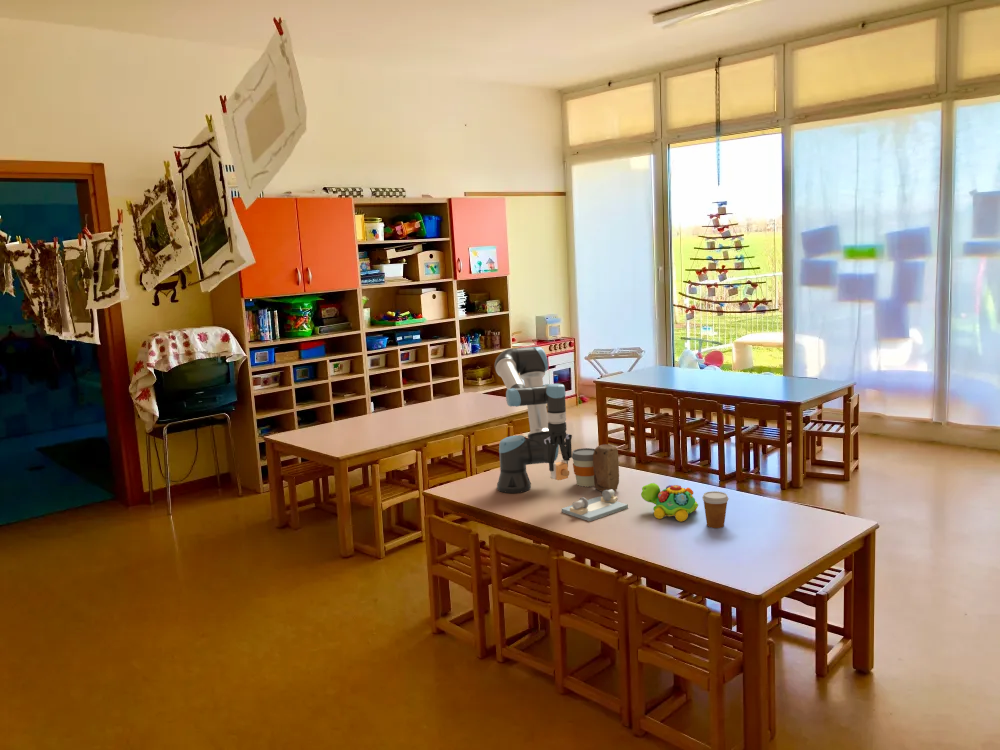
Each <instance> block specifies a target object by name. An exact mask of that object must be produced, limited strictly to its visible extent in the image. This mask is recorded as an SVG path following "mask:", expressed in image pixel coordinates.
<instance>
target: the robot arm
mask: <svg viewBox="0 0 1000 750" xmlns="http://www.w3.org/2000/svg"><path fill="white" fill-rule="evenodd" d="M547 356H548V355H547V354H546V352H545V349H544V348H543V347H541V346H527V347H513V348H508V349H505V350H502V351H501V353H500V354H498V356H496V358H495V360H494V361H495V362H494V370H495V373H496V375H497V376H498V377H500V378H501V379H502V380H501V381H503V384H504V386H505V389H506V391H505V400H506V405H507V406H508V407H523V406H526V407H527V408H526V409H527V414H528V423H529V430H530V431H529V432H528V433H527V438H526V437H525V436H524V435H521V434H519V435H510V436H507V437H504V438H503V439H501V440H500V441H499V444H498V445H499V448H498V453H499V471H500V473H499V476H498V479H497V480H498V481H497V483H496V484H497V485H496V489H497V491H499V492H501V493H505V494H518V493H524V492H527V491H529V490H530V489H531V488H532V487H531V486H532V484H531V480H530V477H529V475H528V472H527V465H538V464H548V467H549V472H550V471H551V472H550V479H552V478H553V479H552V480H556V463H557V462H556V461H557V459H558V456H559V449H560V453H561V457H562V459H561V461H560V462H563V463H566V464H568V465H569V462H570V459H572V452H573V451H572V437H573V434H570V433H567V432H566V431H567V422H566V421H567V410H566V407H567V406H566V387H565V385H564V384H563V383H545V384H544V380H543V379H544V377H545V375H546V372H547V371H548V369H549V364H548V363H549V362H548V357H547Z"/></svg>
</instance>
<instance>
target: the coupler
mask: <svg viewBox="0 0 1000 750" xmlns="http://www.w3.org/2000/svg"><path fill="white" fill-rule="evenodd" d="M555 463H556V479H555V480H557V481H561V480H565V479H569V475H570V470H568V469H569V463H568V464H566V463H563V462H561V461H558V462H557V461H556V462H555ZM549 472H550V473H551V471H550V470H549ZM551 479H552V480H554V479H553V478H551Z"/></svg>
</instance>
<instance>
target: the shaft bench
mask: <svg viewBox="0 0 1000 750" xmlns="http://www.w3.org/2000/svg"><path fill="white" fill-rule="evenodd" d="M615 492H616V491H615ZM615 492H614V490H613V489H610V490H604V491H603V492H602V491H601V496H600V495H599V496H595V497H592V498H589V499H587V498H586V497H584V496H583V497H580V498H579V500H578V501H574V502H573V503H572V504H571V505H568V506H566V507H562V508H561V512H562V514H566V515H570V516H572V517H574V518H579V519H581V520H583V521H586V520H587V522H589V521H590V522H592V521H595V520H598V519H601V518H603V517H607V516H609V514H610V515H613V514H615V513H618V512H621V511H624V510H626V508H627V509H629V505H628V504H627V503H624V502H620V501H618V496H615V495H616V493H615ZM623 509H624V510H623ZM620 510H621V511H620ZM612 513H613V514H612Z"/></svg>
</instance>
